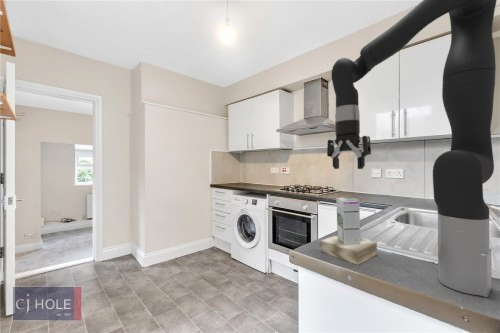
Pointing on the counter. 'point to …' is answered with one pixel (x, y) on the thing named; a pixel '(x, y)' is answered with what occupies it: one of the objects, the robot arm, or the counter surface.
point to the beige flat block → (349, 249)
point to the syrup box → (348, 220)
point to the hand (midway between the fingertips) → (347, 168)
